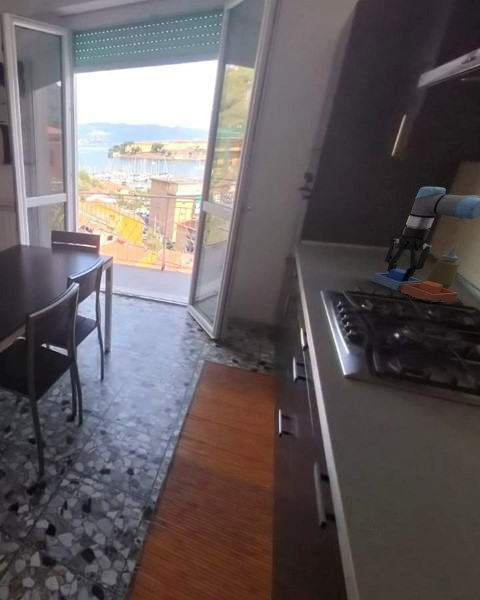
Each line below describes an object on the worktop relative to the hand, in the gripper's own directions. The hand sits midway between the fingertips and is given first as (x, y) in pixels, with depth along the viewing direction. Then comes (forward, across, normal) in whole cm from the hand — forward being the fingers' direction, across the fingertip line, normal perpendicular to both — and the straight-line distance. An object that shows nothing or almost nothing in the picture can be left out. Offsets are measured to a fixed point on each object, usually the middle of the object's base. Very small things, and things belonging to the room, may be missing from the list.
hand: (396, 281), depth 152 cm
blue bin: (+2, 0, 0) cm, 2 cm away
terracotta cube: (+1, -12, +3) cm, 13 cm away
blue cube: (0, 0, 0) cm, 0 cm away
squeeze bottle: (+2, -10, -10) cm, 14 cm away
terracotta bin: (+2, -13, +3) cm, 13 cm away
